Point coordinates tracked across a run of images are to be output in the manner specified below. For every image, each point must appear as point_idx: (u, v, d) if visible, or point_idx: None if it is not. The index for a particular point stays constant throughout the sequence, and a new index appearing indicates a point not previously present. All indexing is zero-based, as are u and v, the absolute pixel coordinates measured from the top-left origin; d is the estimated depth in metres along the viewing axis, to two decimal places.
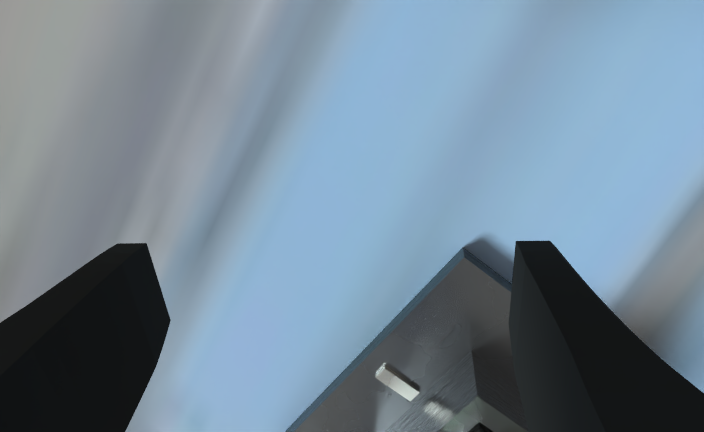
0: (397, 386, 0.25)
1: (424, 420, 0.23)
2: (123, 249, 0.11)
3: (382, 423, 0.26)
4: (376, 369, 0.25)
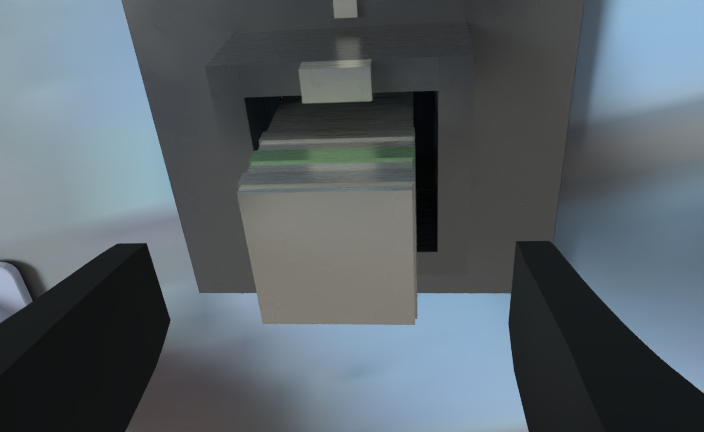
0: None
1: (351, 44, 0.15)
2: (123, 249, 0.11)
3: (267, 18, 0.16)
4: None
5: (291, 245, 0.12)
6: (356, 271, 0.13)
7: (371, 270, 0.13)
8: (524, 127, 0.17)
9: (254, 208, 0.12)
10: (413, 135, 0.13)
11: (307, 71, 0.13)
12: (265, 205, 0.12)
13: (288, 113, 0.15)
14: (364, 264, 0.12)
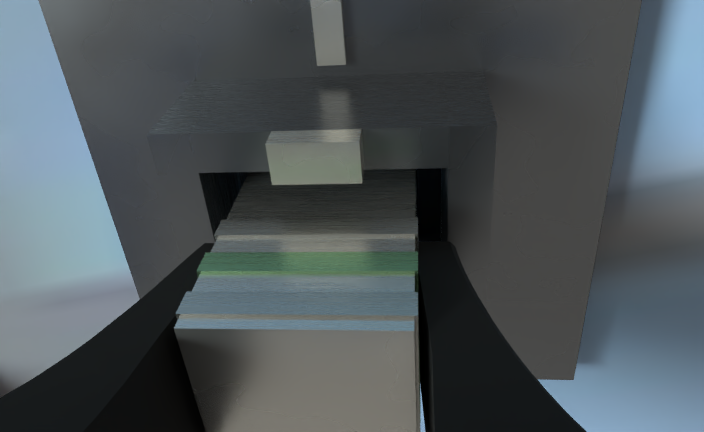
0: (325, 23, 0.12)
1: (337, 104, 0.12)
2: None
3: (234, 64, 0.13)
4: None
5: (251, 390, 0.09)
6: (339, 421, 0.09)
7: (359, 421, 0.09)
8: (552, 195, 0.14)
9: (199, 346, 0.09)
10: (416, 232, 0.10)
11: (277, 146, 0.10)
12: (213, 343, 0.09)
13: (257, 190, 0.12)
14: (350, 414, 0.09)
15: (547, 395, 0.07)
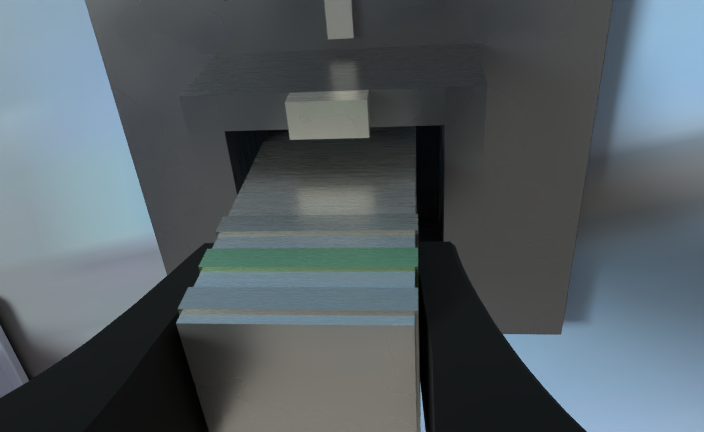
0: (335, 0, 0.14)
1: (346, 70, 0.13)
2: None
3: (253, 38, 0.14)
4: None
5: (252, 385, 0.09)
6: (340, 416, 0.09)
7: (360, 415, 0.09)
8: (540, 158, 0.15)
9: (201, 340, 0.09)
10: (416, 228, 0.10)
11: (295, 105, 0.12)
12: (215, 337, 0.09)
13: (258, 187, 0.12)
14: (350, 408, 0.09)
15: (547, 395, 0.07)
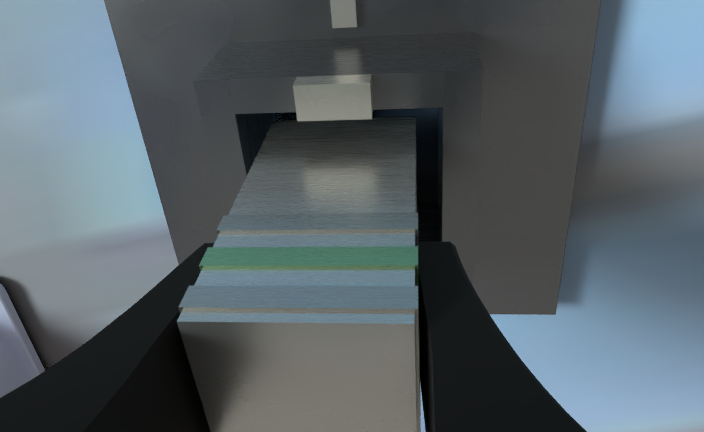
0: None
1: (350, 57, 0.14)
2: None
3: (261, 28, 0.15)
4: None
5: (252, 383, 0.09)
6: (340, 414, 0.10)
7: (360, 413, 0.09)
8: (534, 142, 0.16)
9: (201, 339, 0.09)
10: (416, 227, 0.10)
11: (303, 87, 0.13)
12: (216, 335, 0.09)
13: (258, 186, 0.12)
14: (350, 406, 0.09)
15: (547, 395, 0.07)
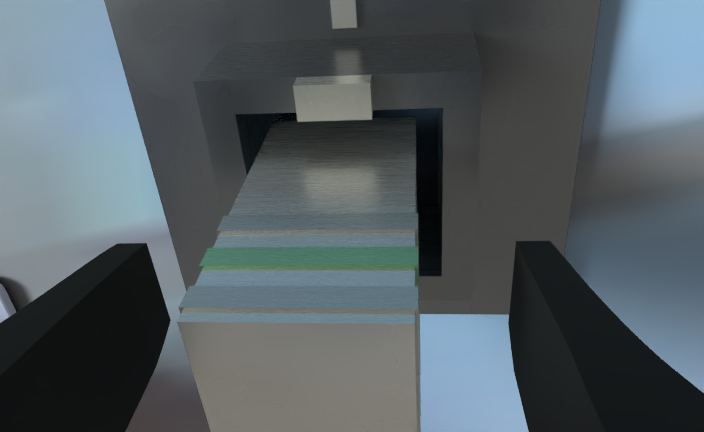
0: None
1: (350, 57, 0.14)
2: (123, 249, 0.11)
3: (261, 28, 0.15)
4: None
5: (253, 382, 0.09)
6: (340, 414, 0.10)
7: (360, 413, 0.09)
8: (534, 143, 0.16)
9: (202, 339, 0.09)
10: (416, 227, 0.10)
11: (303, 88, 0.13)
12: (216, 336, 0.09)
13: (258, 186, 0.12)
14: (351, 407, 0.09)
15: None
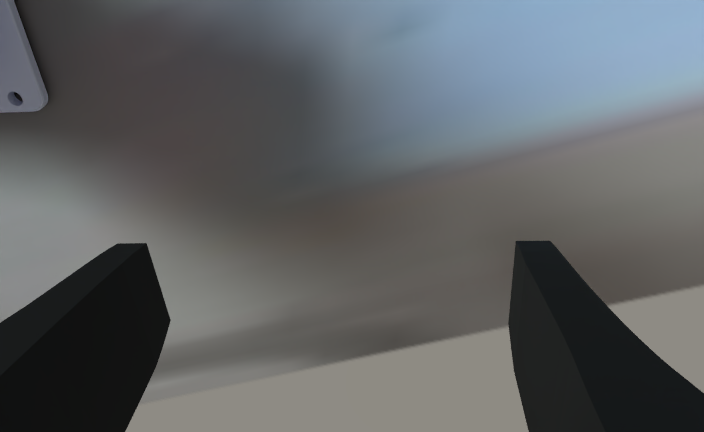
0: None
1: None
2: (123, 249, 0.11)
3: None
4: None
5: None
6: None
7: None
8: None
9: None
10: None
11: None
12: None
13: None
14: None
15: None
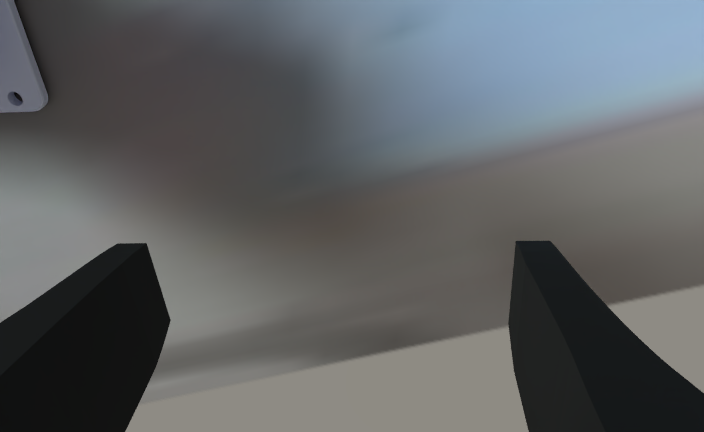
0: None
1: None
2: (123, 249, 0.11)
3: None
4: None
5: None
6: None
7: None
8: None
9: None
10: None
11: None
12: None
13: None
14: None
15: None
